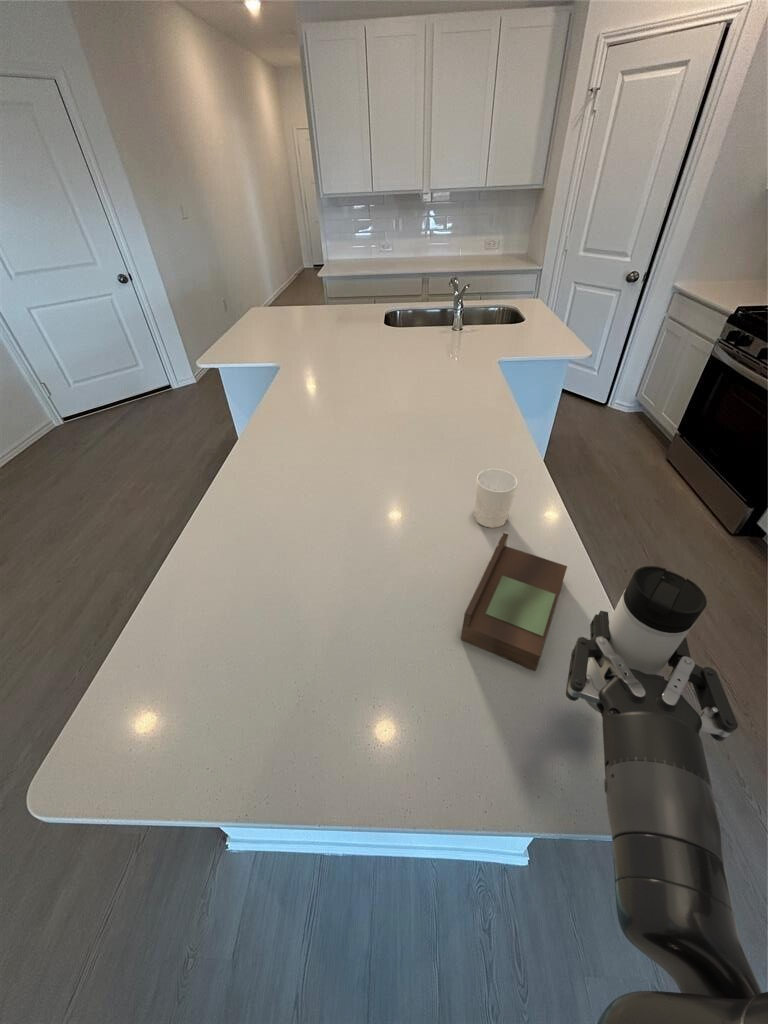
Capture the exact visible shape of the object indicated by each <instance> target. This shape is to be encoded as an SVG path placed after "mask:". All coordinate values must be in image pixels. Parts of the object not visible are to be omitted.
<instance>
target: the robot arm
mask: <svg viewBox="0 0 768 1024" xmlns="http://www.w3.org/2000/svg"><path fill="white" fill-rule="evenodd" d="M609 620H610V618H609V612H608V611H604V610H600V611H599V613H598V614H597V613H595V614H594V616H593V618H592V620H591V623H590V624H589V628H590V639H588V638H587V637H583V636H580V637H578V638H577V640H576V643H575V645H574V648H573V649H572V651H571V655H570V660H569V661H570V662H569V667H568V675H567V682H566V689H565V697H567V699H569V700H570V701H573V702H575V701H578V700H579V698H580V699H582V700H584V701H586V700H587V701H590V702H593V703H595V704H596V705H597V707H598V709H599V711H600V713H599V714H600V716H601V719H602V720H601V721H602V740H603V757H604V759H603V760H604V776H605V777H604V778H603V779H604V780H603V781H604V783H603V784H604V785H603V786H604V793H605V796H606V809H607V815H608V816H607V817H608V821H609V822H608V823H609V825H610V831H611V841H612V858H613V877H614V891H615V905H616V906H615V907H616V914H617V920H618V922H619V927H620V930H621V931H622V933H623V935H624V936H625V938H626V939H627V940H628V942H629V943H631V945H632V946H634V947H635V948H636V949H637V950H639V951H640V952H641V953H642V954H644V955H645V956H646V957H648V958H649V959H651V961H653V962H654V963H656V964H657V965H658V966H660V967H661V968H662V969H663V970H664V971H665V972H666V973H667V974H668V975H669V976H670V977H671V978H672V980H673V981H674V982H675V983H676V986H677V988H678V989H679V991H680V992H675V991H663V990H662V991H661V990H638V991H632V992H628V993H624V994H622V995H620V996H618V997H616V998H615V999H614V1000H613V1001H612V1002H610V1003H609V1004H608V1006H607V1007H606V1008H605V1009H604V1010H603V1012H602V1013H601V1016H600V1017H599V1019H598V1021H597V1023H596V1024H768V991H765V992H763V990H762V988H761V986H760V983H759V980H758V978H757V976H756V974H755V972H754V969H753V968H752V965H751V963H750V961H749V958H748V957H747V954H746V951H745V949H744V947H743V944H742V942H741V939H740V938H741V937H740V935H739V930H738V925H737V920H736V915H735V909H734V904H733V899H732V895H731V892H730V891H731V890H730V886H729V881H728V876H727V871H726V867H725V860H724V856H723V855H724V854H723V841H722V829H721V823H720V818H719V814H718V810H717V805H716V800H715V796H714V791H713V787H712V783H711V778H710V772H709V768H708V763H707V759H706V754H705V750H704V745H703V741H702V738H701V736H700V733H705V734H709V735H710V736H711V737H712V738H713V739H714V740H715V741H718V742H724V740H726V739H727V738H728V737H729V736H730V735H731V734H732V733H733V732H735V731H736V730H737V729H738V727H739V725H738V721H737V719H736V716H735V714H734V711H733V709H732V706H731V704H730V702H729V699H728V697H727V694H726V692H725V689H724V687H723V684H722V682H721V680H720V677H719V675H718V672H717V671H716V670H715V669H714V668H712V667H709V666H704V667H702V666H700V665H699V664H696V662H695V661H694V659H692V656H691V653H690V648H689V644H688V639H687V636H685V638H684V639H683V641H682V642H681V643H680V645H679V646H678V648H677V649H676V650H675V652H674V653H673V655H672V656H671V657H670V659H669V660H668V662H667V664H668V667H671V668H672V669H671V671H670V673H669V674H668V676H667V679H665V676H663V675H660V674H658V675H656V674H645V673H643V672H641V671H638V670H635V669H631V668H628V666H627V665H626V663H625V662H624V660H623V658H622V657H621V656H620V655H617V654H616V653H615V651H614V650H613V648H612V647H611V645H610V644H609V642H608V641H609V640H610V630H609ZM589 658H592V660H593V661H594V663H595V665H596V666H597V668H598V671H599V676H600V678H601V680H602V682H603V683H604V685H605V686H604V687H603V688H602V689H601V690H600V691H599V690H597V689H596V688H595V687H594V685H593V680H592V679H591V676H590V675H586V674H587V666H588V662H589ZM615 673H616V676H615ZM688 682H689V683H690V684H692V687H693V689H694V693H695V696H696V698H697V701H698V704H699V707H700V710H701V711H700V712H699V713H698V712H697V711H696V710H695V708H694V707H693V706H692V705H691V704H690V702H689V701H688V700H686V698H685V697H684V696H683V695H682V693H683V691H684V689H685V687H686V685H687V683H688Z"/></svg>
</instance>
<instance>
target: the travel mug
mask: <svg viewBox="0 0 768 1024" xmlns="http://www.w3.org/2000/svg"><path fill="white" fill-rule="evenodd" d="M707 603H708V600H707V596H706V595H705V593H704V592H703V590H702V589H701V588H700V587H699V585H698V584H697V583H695V582H694V581H692V580H690V579H689V578H685V577H684V576H682V575H680V574H678V573H675V572H673V571H671V570H667V568H664V567H661V566H655V565H647V566H642V567H638V568H637V569H636V570H635V571H634V572H633V574H632V577H631V578H630V581H629V582H628V584H627V586H626V588H625V589H624V591H623V592H622V594H621V597H620V598H619V600H618V603H617V604H616V606H615V608H614V610H613V613H612V615H611V616H610V618H609V630H610V640H609V641H608V642H609V644H610V645H611V647H612V648H613V650H614V651H615V653H616V654H617V655H620V656H621V657H622V658H623V660H624V662H625V663H626V665H627V666H628V668H631V669H635V670H638V671H641V672H643V673H645V674H656V675H660V673H661V671H662V670H663V669H664V668H665V666H666V665H667V664H668V660H669V659H670V657H671V656H672V655H673V653H674V652H675V650H676V649H677V648H678V646H679V645H680V643H681V642H682V641H683V639H684V638H685V637H687V635H688V633H689V632H690V631H691V630H692V628H693V627H694V626H695V623H696V621H697V620H698V619H699V617H700V616H701V614H702V613H703V612H704V610H705V609H706V607H707ZM586 675H590V676H591V679H592V680H593V685H594V687H595V688H596V689H597V690H599V691H600V690H601V689H602V688H603V687H604V686H605V685H604V683H603V682H602V680H601V678H600V676H599V671H598V668H597V666H596V665H595V663H594V661H593V660H592V658H591V657H589V659H588V666H587V674H586ZM615 676H616V673H615ZM585 702H586V703H587V704H588V705H589V706H590V707H591V709H593V710H595V711H596V712H597V713H599V714H601V713H600V711H599V709H598V707H597V705H596V704H595V703H593V702H590V701H587V700H585Z"/></svg>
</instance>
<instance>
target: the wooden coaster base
mask: <svg viewBox="0 0 768 1024" xmlns="http://www.w3.org/2000/svg"><path fill="white" fill-rule="evenodd" d="M508 540H509V534H508V533H505V532H502V534H501V536H500V539H499V540H498V542H497V544H496V547H495V548H494V551H493V553H492V555H491V558H490V560H489V561H488V563H487V566H486V568H485V570H484V572H483V574H482V576H481V578H480V580H479V582H478V584H477V586H476V588H475V590H474V593H473V595H472V597H471V599H470V601H469V602H468V605H467V607H466V609H465V611H464V615H463V620H462V621H463V622H462V628H461V635H460V640H461V641H464V642H466V643H468V644H470V645H473V646H476V647H478V648H480V649H483V650H484V651H487V652H490V653H492V654H494V655H497V656H499V657H502V658H504V659H506V660H508V661H511V662H513V663H516V664H518V665H520V666H523V667H525V668H527V669H530V670H533V671H536V669H537V667H538V664H539V662H540V659H541V656H542V653H543V650H544V646H545V643H546V639H547V637H548V633H549V630H550V626H551V623H552V619H553V616H554V613H555V609H556V606H557V602H558V600H559V595H560V593H561V589H562V585H563V583H564V579H565V576H566V572H567V569H568V565H565V564H562V563H560V562H557V561H553V560H550V559H546V558H544V557H541V556H538V555H535V554H532V553H529V552H525V551H522V550H519V549H516V548H513V547H510V546H507V543H508Z"/></svg>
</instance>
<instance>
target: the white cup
mask: <svg viewBox="0 0 768 1024" xmlns="http://www.w3.org/2000/svg"><path fill="white" fill-rule="evenodd" d="M517 486H518V479H517V477H516V476H515V474H514V473H512V472H509V471H507V470H506V469H501V468H487V469H484V470H482V471H480V472H479V473H478V474H477V476H476V483H475V494H474V495H475V497H474V519H475V522H477V523H478V524H479V525H481V526H483V527H486V528H489V529H493V528H500V527H502V526H504V525H505V523H506V522H507V521H508V517H509V513H510V511H511V507H512V504H513V501H514V497H515V493H516V490H517Z"/></svg>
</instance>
